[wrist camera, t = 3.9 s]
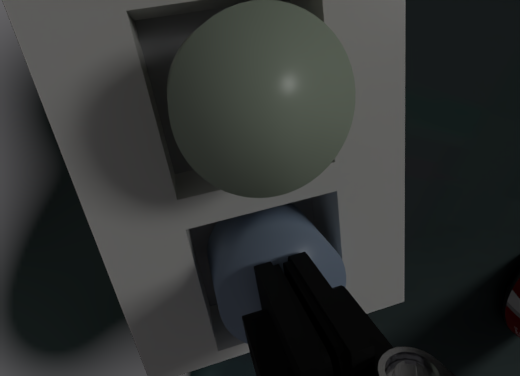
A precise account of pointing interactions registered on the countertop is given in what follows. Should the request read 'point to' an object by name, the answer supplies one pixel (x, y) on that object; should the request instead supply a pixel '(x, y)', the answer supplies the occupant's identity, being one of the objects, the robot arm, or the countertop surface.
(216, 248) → the blue button
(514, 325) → the soda can
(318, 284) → the robot arm
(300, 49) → the sage button
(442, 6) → the countertop surface
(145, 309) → the panel
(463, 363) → the countertop surface
